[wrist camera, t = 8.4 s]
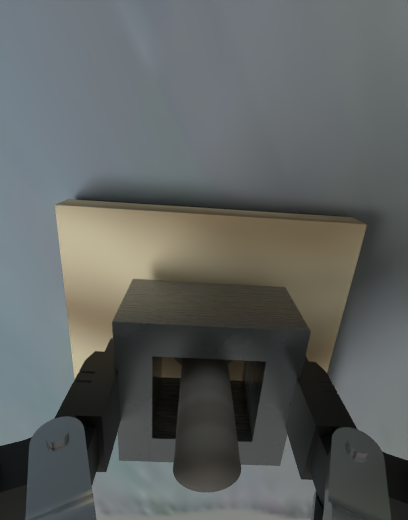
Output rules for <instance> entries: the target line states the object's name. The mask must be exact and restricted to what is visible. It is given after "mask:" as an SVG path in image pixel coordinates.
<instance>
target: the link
mask: <svg viewBox="0 0 408 520" xmlns="http://www.w3.org/2000/svg"><path fill="white" fill-rule="evenodd" d="M112 331H113V350H114V369H115V370H118V377H119V398H120V419H121V421H120V425H119V428H118V445H119V460H122V461H152V462H174V453H175V441H176V429H177V417H178V405H179V392H180V380H181V378H169V377H162V357H177V358H199V359H221V360H242V361H244V367H243V374H242V381H238V380H230V384H231V392H232V400H233V408H234V416H235V424H236V432H237V440H238V448H239V456H240V464H243V465H273V466H280V463H281V459H282V455H283V450H284V446H285V442H286V437H287V430H286V423H287V419H288V414H289V410H290V406H291V401H292V397H293V392H294V388H295V384H296V379H297V378H300V377H301V373H302V368H303V364H304V360H305V356H306V351H307V347H308V343H309V338H310V334H311V331H310V329H309V327H308V325H307V324H306V322H305V320H304V319H303V317H302V315H301V313H300V312H299V310H298V308H297V306H296V305H295V303H294V301H293V300H292V298H291V296H290V294H289V293H288V291H287V289H286V288H285V287H274V286H256V285H238V284H219V283H201V282H183V281H164V280H146V279H132V281H131V284H130V286H129V288H128V290H127V292H126V294H125V296H124V298H123V300H122V302H121V304H120V306H119V308H118V310H117V312H116V315H115V317H114V319H113V321H112Z"/></svg>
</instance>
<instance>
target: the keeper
mask: <svg viewBox="0 0 408 520" xmlns="http://www.w3.org/2000/svg"><path fill="white" fill-rule="evenodd" d="M55 209H56V218H57V227H58V236H59V245H60V253H61V262H62V271H63V280H64V289H65V297H66V306H67V315H68V324H69V333H70V341H71V350H72V359H73V368H74V377H75V378H76V376H77V374H78V373H79V371H80V369H81V367H82V365H83V363H84V361H85V360H86V359H87V358H88V357H89V356H90V355H91V354H93V353H94V352H95V351H103V352H105V350H106V347H107V345H108V343H109V341H110V339H111V338H113V331H112V321H113V319H114V317H115V315H116V312H117V310H118V308H119V306H120V304H121V302H122V300H123V298H124V296H125V294H126V292H127V290H128V288H129V286H130V284H131V281H132V279H146V280H164V281H183V282H201V283H219V284H238V285H256V286H274V287H285V288H286V289H287V291H288V293H289V294H290V296H291V298H292V300H293V301H294V303H295V305H296V306H297V308H298V310H299V312H300V313H301V315H302V317H303V319H304V320H305V322H306V324H307V325H308V327H309V329H310V331H311V334H310V338H309V343H308V347H307V351H306V357H307V359H308V361H310V362H316V363H317V364H318V365H319V366H321V367H322V368H323V369H324V370H325V371H326V373H327V371H328V368H329V364H330V360H331V357H332V353H333V349H334V345H335V342H336V338H337V334H338V331H339V327H340V323H341V320H342V316H343V312H344V308H345V305H346V301H347V297H348V294H349V290H350V286H351V283H352V279H353V275H354V271H355V268H356V264H357V260H358V257H359V253H360V249H361V245H362V242H363V238H364V234H365V231H366V227H367V224H365V223H363V222H361V221H359V220H357V219H355V218H353V217H340V216H324V215H308V214H293V213H277V212H261V211H245V210H230V209H214V208H198V207H182V206H167V205H151V204H135V203H119V202H104V201H88V200H72V199H67V200H65V201H63V202H61V203H58V204H56V205H55ZM243 367H244V361H242V360H221V359H199V358H177V357H162V377H169V378H181V380H180V392H179V405H178V417H177V429H176V441H175V453H174V465H173V473H174V476H175V478H176V480H177V481H178V482H179V483H180V484H181V485H182V486H184V487H186V488H188V489H190V490H193V491H197V492H215V491H220V490H223V489H225V488H227V487H229V486H231V485H232V484H233V483H235V482H236V480H237V479H238V478H239V476H240V473H241V464H240V456H239V448H238V440H237V432H236V424H235V416H234V408H233V400H232V392H231V384H230V380H238V381H242V374H243Z"/></svg>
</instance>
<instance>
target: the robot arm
mask: <svg viewBox="0 0 408 520" xmlns="http://www.w3.org/2000/svg"><path fill="white" fill-rule="evenodd" d="M120 421H121V419H120V398H119V377H118V370H115V369H114V350H113V338H111V339H110V341H109V343H108V345H107V347H106V350H105V352H103V351H95V352H94V353H93V354H91V355H90V356H89V357H88V358H87V359H86V360H85V361H84V363H83V365H82V367H81V369H80V371H79V373H78V374H77V376H76V378H75V381H74V382H73V384H72V386H71V388H70V390H69V392H68V394H67V395H66V397H65V399H64V401H63V403H62V405H61V407H60V409H59V411H58V413H57V415H56V417H55V418H54V419H52V420H50V421H48V422H47V423H45V424H43V425H42V426H41V427H40V428H39V429H38V430H37V431H36V432H35V433H34V435H33V436H32V437H31V438H29V439H26V440H23V441H19V442H15V443H11V444H7V445H3V446H0V520H96V513H95V506H94V498H93V493H92V484H93V480H94V477H95V474H96V472H106V471H107V467H108V464H109V460H110V457H111V453H112V450H113V446H114V442H115V439H116V435H117V432H118V428H119V425H120ZM286 430H287V434H288V437H289V440H290V444H291V447H292V450H293V454H294V457H295V461H296V464H297V467H298V471H299V474H300V477H301V479H309V480H313V482H314V485H315V488H316V490H315V493H314V497H313V506H312V516H311V520H408V461H407V460H404V459H401V458H398V457H395V456H392V455H389V454H386V453H384V452H382V450H381V449H380V447H379V446H378V444H377V443H376V442H375V441H374V440H373V439H372V438H371V437H370V436H368V435H367V434H365V433H363V432H362V431H359V430H357V428H356V426H355V424H354V422H353V421H352V419H351V417H350V415H349V413H348V411H347V409H346V408H345V406H344V404H343V402H342V400H341V398H340V397H339V395H338V394H337V391H336V389H335V387H334V385H332V382H331V380H330V378H329V376H328V374H327V373H326V371H325V370H324V369H323V368H322V367H321V366H319V365H318V364H317V363H316V362H310V361H308V359H307V357H306V356H305V360H304V364H303V368H302V373H301V377H300V378H297V379H296V384H295V388H294V392H293V397H292V401H291V406H290V410H289V414H288V419H287V423H286Z"/></svg>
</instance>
